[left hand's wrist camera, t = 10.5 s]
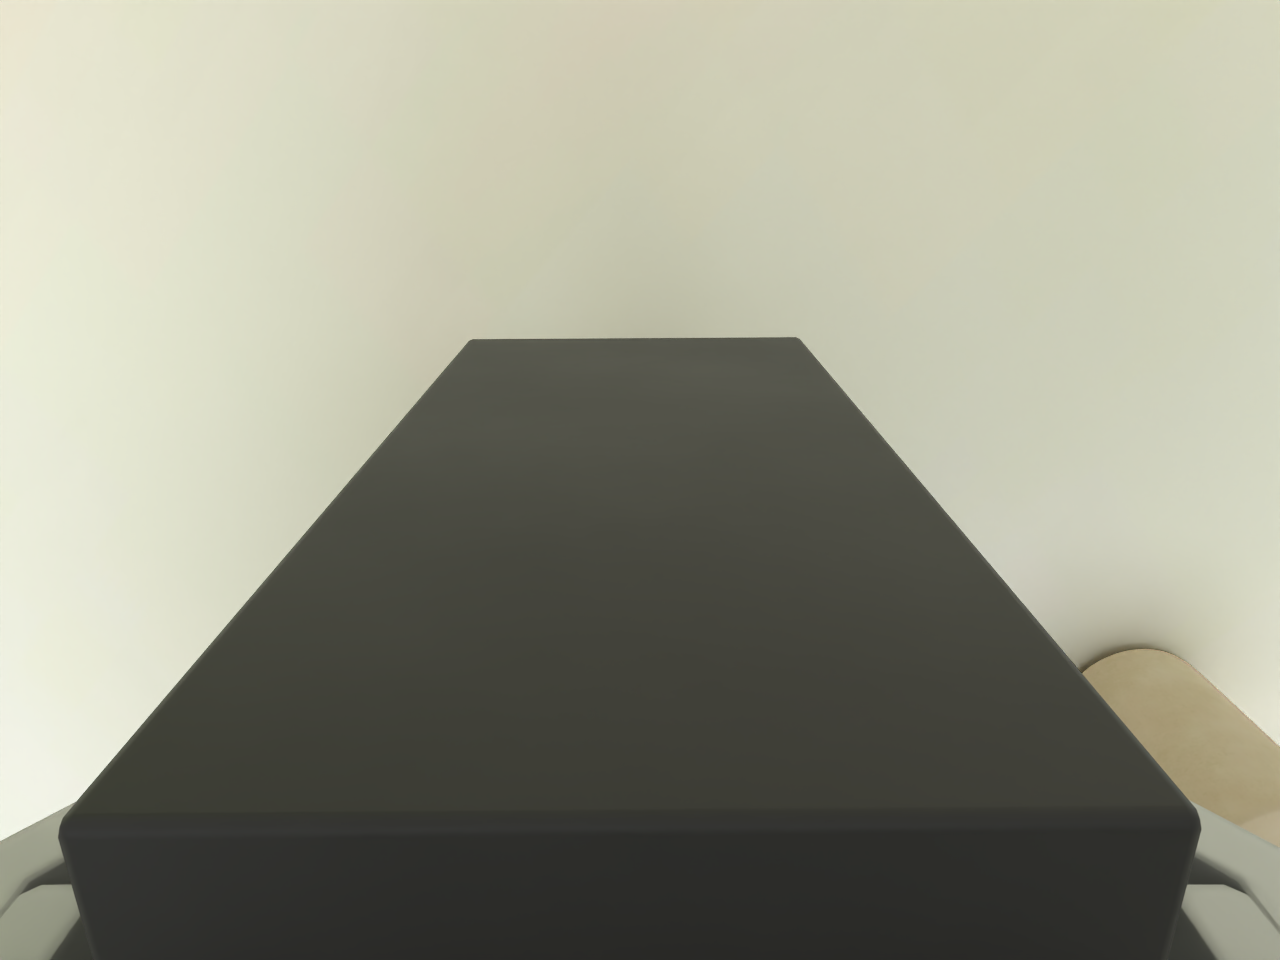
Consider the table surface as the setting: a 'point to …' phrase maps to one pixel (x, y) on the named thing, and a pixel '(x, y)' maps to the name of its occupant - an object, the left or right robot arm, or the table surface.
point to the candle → (1195, 736)
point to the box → (632, 704)
